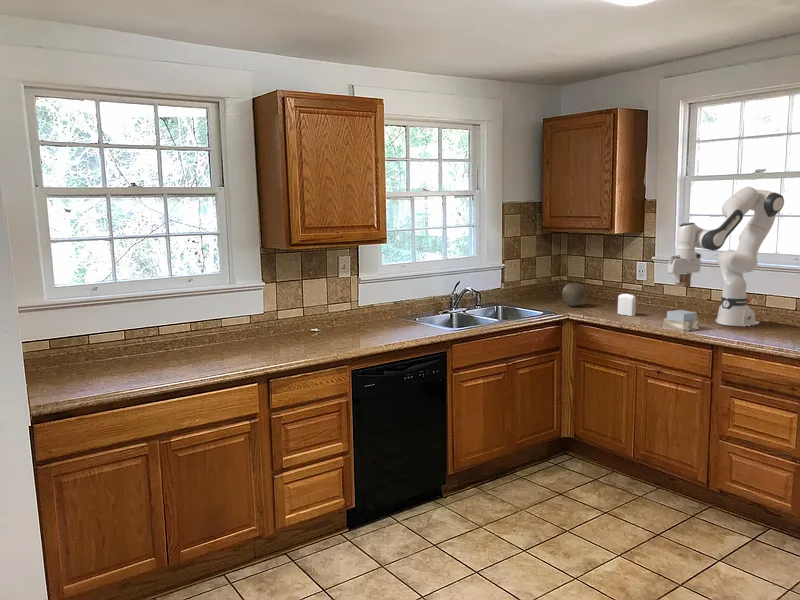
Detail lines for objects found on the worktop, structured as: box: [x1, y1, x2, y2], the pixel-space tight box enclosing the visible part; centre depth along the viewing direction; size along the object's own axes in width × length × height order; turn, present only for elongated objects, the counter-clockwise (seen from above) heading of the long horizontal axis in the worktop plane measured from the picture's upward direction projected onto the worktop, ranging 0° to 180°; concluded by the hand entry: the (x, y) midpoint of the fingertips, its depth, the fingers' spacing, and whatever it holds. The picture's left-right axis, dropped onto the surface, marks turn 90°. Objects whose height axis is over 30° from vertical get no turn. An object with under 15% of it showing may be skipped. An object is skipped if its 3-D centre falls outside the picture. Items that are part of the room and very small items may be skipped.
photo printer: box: [617, 293, 637, 317], centre depth 368 cm, size 10×4×12 cm, turn 39°
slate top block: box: [666, 309, 698, 322], centre depth 329 cm, size 10×10×4 cm
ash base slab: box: [662, 318, 700, 332], centre depth 330 cm, size 12×12×5 cm
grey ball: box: [561, 282, 587, 308], centre depth 398 cm, size 14×14×15 cm
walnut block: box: [674, 273, 692, 288], centre depth 327 cm, size 5×5×6 cm
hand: (683, 282), depth 327 cm, fingers closed on walnut block, 5 cm apart
